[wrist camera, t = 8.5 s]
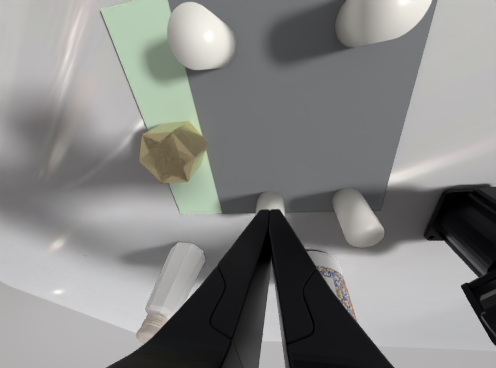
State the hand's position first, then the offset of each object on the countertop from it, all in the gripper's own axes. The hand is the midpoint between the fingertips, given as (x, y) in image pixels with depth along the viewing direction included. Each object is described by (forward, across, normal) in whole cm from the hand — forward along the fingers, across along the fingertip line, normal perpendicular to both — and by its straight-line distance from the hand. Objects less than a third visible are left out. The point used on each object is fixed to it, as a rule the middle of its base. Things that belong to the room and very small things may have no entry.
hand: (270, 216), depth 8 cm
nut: (+11, +9, 0) cm, 15 cm away
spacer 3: (+11, -6, -7) cm, 15 cm away
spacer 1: (+11, +4, -7) cm, 14 cm away
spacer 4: (+11, -7, +8) cm, 15 cm away
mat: (+12, +1, -1) cm, 12 cm away
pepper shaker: (+12, +14, +17) cm, 25 cm away
